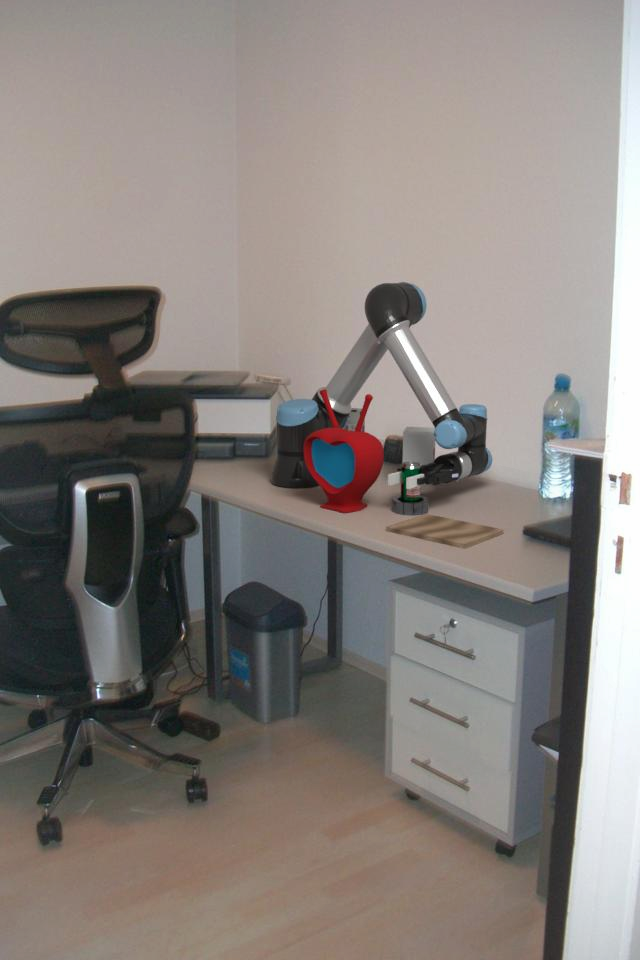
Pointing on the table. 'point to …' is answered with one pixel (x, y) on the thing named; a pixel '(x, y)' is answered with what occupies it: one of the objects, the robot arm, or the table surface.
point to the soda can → (406, 471)
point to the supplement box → (419, 445)
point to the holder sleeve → (410, 506)
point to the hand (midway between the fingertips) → (398, 481)
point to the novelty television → (344, 461)
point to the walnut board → (445, 530)
